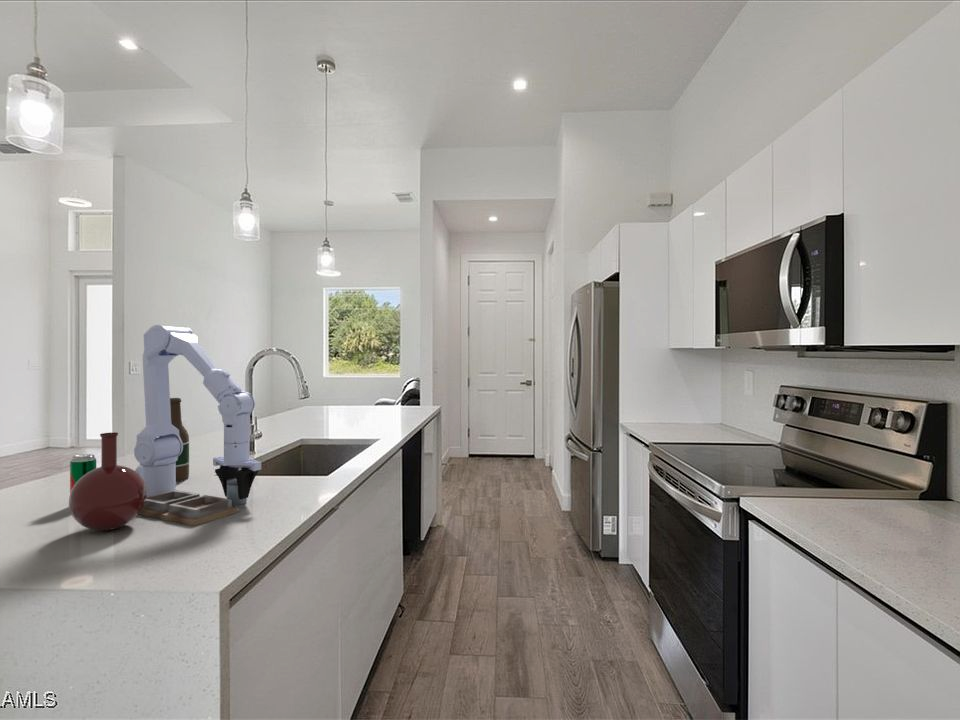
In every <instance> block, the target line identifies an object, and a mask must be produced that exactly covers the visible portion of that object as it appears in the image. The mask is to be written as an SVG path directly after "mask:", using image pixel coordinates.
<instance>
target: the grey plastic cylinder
mask: <svg viewBox="0 0 960 720" xmlns="http://www.w3.org/2000/svg"><path fill="white" fill-rule="evenodd" d="M226 499H231V500H232V507H241V506H244V505H247V500H248V498H245V499H239V494H238V484H237V480H236V478H230V479H228V480H227V497H226Z"/></svg>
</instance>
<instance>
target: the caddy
mask: <svg viewBox="0 0 960 720" xmlns="http://www.w3.org/2000/svg"><path fill="white" fill-rule="evenodd" d="M236 513H239V506H232V500H231V499H227V498H224V497H218V496H214V495H209V494H204V495H201V496H200V493H195V492H190V491H185V490H180V489H179V490H178V489H176V490H172V491H168V492H164V493H160V494H156V495H152V496H148V497H146V501H145V504H144V506H143V508H142V510H141V511H140V512H139V514H138V515H141V516H145V517H150V518H154V519H159V520H164V521H169V522H173V523H178V524H184V525H187V526H194V527H196V526H199V525H203V524H205V523H207V522H211V521H214V520H218V519H221V518H223V517H227V516H230V515H232V514H236Z"/></svg>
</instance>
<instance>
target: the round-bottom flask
mask: <svg viewBox="0 0 960 720" xmlns="http://www.w3.org/2000/svg"><path fill="white" fill-rule="evenodd" d="M118 435H119V433H118V432H103V433H100V434H99V436H100V438H101V446H100V447H101V451H100V452H101V455H100V457H101V461H100V462H101V465H100V467H99V466H98V467H96V469H94V470H91V471H90V472H88V473H86V474H85V475H84V476H82V477H81V478H80V479H79V480H78V481H77V482H76V484H75V485H74V487H73V488H72V491H71V493H70V492H69V497H68V508H69V512H70V514H71V517H72V518H73V519H74V520H75V522H76V523H78V524H79V525H81V526H82V527H84V528H86V529H89V530H92V531H98V532H99V531H101V532H103V531H112V530H115V529H118V528H121V527H123V526H125V525H127V524H129V523H130V522H131V521H133V520H134V519H135V518H136V517H137V516H138V515H140V514H139V512H140V511H141V510H142V508H143V506H144V504H145V501H146V496H147V489H146V485H145V482H144V480H143V479H142V477H141V476H140V475H139V474H138V473H137V472H136V471H135V469H133V468H130V467H128V466H124V465H118V463H117V461H118V459H117V458H118V451H117V450H118V447H117V446H118V445H117V444H118V443H117V442H118V441H117V440H118Z"/></svg>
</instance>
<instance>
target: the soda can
mask: <svg viewBox="0 0 960 720" xmlns="http://www.w3.org/2000/svg"><path fill="white" fill-rule="evenodd" d="M96 468H97V458H96V457H95V454H91V453H90V454H87V453H86V454H79V455H73V456H72V457H71V460H70V461H69V494H70V493H71V491H72V488H73V487H74V485H75V484H76V482H77V481H78V480H79V479H80V478H81V477H82V476H84V475H85V474H86V473H88V472H90V471H91V470H94V469H96Z"/></svg>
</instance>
